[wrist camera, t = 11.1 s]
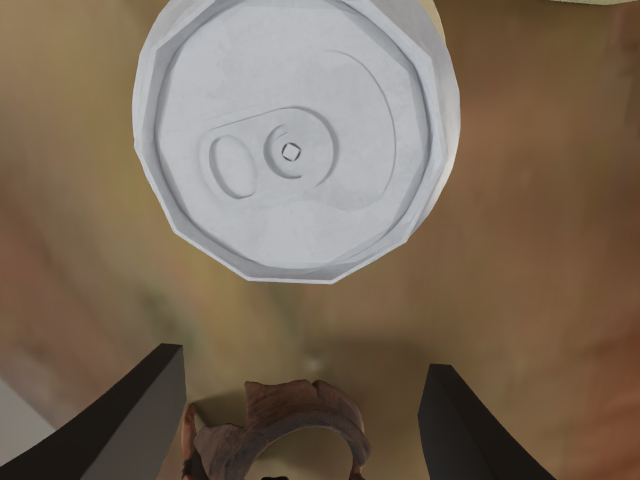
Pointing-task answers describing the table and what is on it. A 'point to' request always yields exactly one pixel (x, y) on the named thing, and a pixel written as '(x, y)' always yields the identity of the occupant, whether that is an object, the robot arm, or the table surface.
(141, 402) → the robot arm
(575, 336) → the table surface
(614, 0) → the ring
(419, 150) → the beer can
